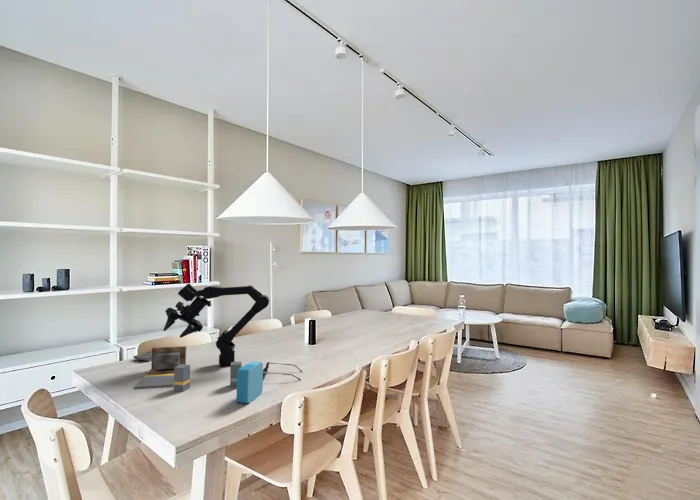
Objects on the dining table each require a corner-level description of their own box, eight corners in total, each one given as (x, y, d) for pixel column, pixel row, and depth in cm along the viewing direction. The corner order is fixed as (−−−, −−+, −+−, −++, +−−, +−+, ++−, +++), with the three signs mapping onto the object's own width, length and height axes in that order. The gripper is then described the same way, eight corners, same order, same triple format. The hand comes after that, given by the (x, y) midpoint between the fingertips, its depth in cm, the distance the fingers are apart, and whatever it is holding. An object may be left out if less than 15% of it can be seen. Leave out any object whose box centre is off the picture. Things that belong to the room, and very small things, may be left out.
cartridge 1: (180, 387, 145) (181, 364, 145) (190, 387, 144) (190, 364, 145) (173, 390, 141) (174, 367, 141) (183, 391, 140) (183, 368, 141)
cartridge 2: (241, 383, 150) (241, 361, 150) (240, 387, 146) (241, 364, 146) (230, 384, 149) (231, 362, 149) (229, 388, 145) (230, 365, 145)
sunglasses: (266, 372, 166) (267, 361, 166) (302, 374, 167) (303, 363, 167) (261, 382, 152) (262, 370, 152) (300, 384, 153) (301, 372, 153)
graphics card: (159, 346, 196) (175, 348, 191) (159, 353, 196) (175, 355, 191) (128, 354, 181) (144, 356, 176) (128, 361, 181) (144, 364, 176)
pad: (181, 375, 159) (181, 373, 159) (173, 386, 146) (173, 384, 146) (145, 377, 156) (145, 375, 156) (134, 388, 143) (134, 386, 143)
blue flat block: (251, 391, 141) (252, 360, 142) (262, 392, 140) (263, 361, 141) (236, 403, 130) (236, 369, 130) (247, 405, 129) (248, 370, 129)
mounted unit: (186, 367, 170) (186, 345, 170) (182, 372, 163) (183, 349, 163) (152, 369, 167) (153, 347, 167) (147, 374, 160) (148, 351, 160)
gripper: (204, 306, 185) (182, 330, 184) (174, 291, 172) (150, 317, 170) (212, 318, 178) (189, 344, 176) (181, 303, 164) (156, 330, 163)
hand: (172, 333), depth 171 cm, fingers open, 9 cm apart
